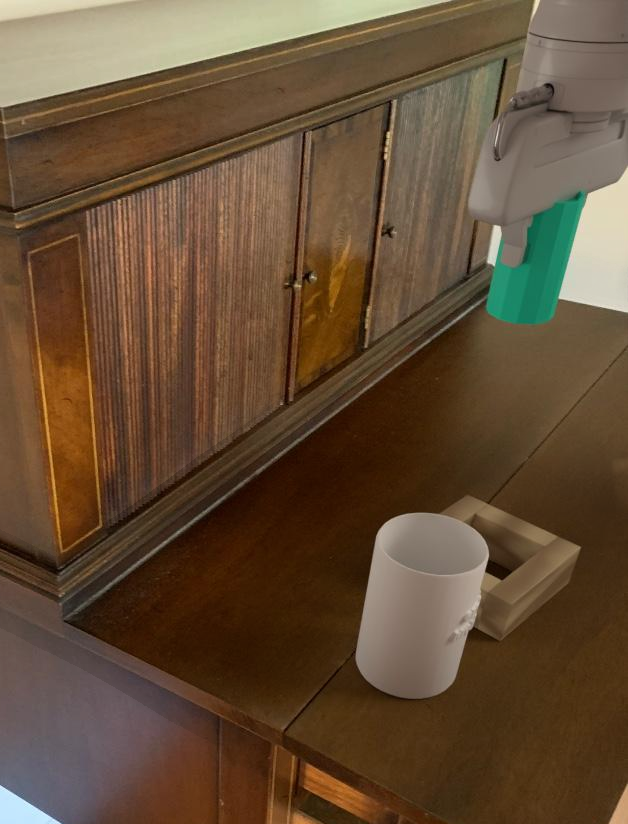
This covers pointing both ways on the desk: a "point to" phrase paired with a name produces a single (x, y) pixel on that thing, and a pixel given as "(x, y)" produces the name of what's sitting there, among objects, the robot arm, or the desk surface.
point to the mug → (420, 603)
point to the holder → (515, 565)
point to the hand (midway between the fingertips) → (533, 255)
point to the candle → (536, 267)
